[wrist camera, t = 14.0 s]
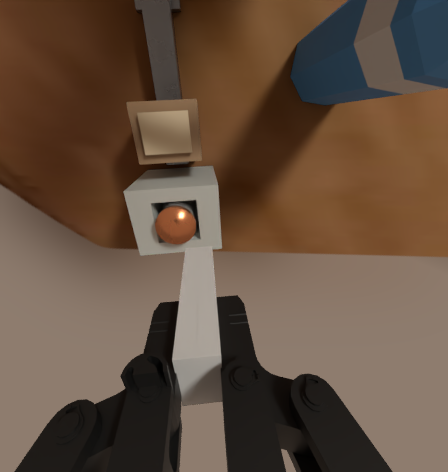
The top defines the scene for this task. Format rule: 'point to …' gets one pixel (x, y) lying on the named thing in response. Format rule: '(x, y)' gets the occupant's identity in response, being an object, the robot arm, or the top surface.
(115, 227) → the top surface
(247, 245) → the top surface
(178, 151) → the block
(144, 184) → the white box
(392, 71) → the water bottle
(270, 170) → the top surface
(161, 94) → the rail
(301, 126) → the top surface
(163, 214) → the plunger
